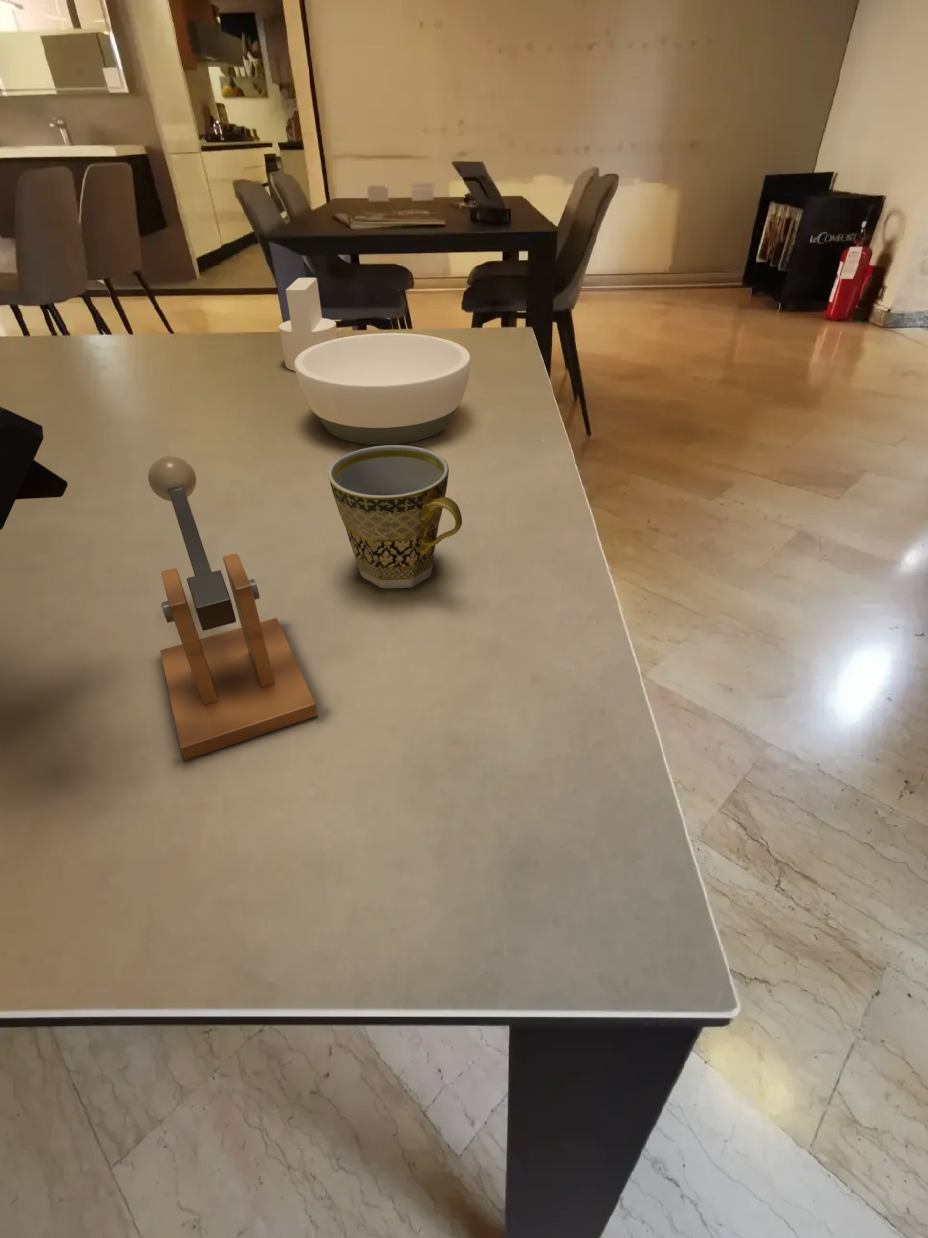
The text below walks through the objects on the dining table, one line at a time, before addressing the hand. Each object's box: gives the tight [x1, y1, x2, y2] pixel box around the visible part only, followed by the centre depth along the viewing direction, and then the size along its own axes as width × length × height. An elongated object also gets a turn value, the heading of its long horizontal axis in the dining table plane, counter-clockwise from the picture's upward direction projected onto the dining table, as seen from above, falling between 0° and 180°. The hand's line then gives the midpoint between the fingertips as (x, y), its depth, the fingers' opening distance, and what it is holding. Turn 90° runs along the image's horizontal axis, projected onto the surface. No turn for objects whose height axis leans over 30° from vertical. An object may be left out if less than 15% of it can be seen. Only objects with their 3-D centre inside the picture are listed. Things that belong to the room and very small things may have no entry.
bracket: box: [159, 553, 319, 761], centre depth 46 cm, size 11×9×10 cm
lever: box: [147, 455, 237, 632], centre depth 48 cm, size 16×3×3 cm, turn 26°
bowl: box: [294, 332, 471, 446], centre depth 88 cm, size 22×22×8 cm
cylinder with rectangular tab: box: [278, 277, 339, 372], centre depth 107 cm, size 9×9×12 cm
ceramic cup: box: [328, 444, 463, 589], centre depth 58 cm, size 13×10×10 cm
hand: (62, 488), depth 45 cm, fingers closed
